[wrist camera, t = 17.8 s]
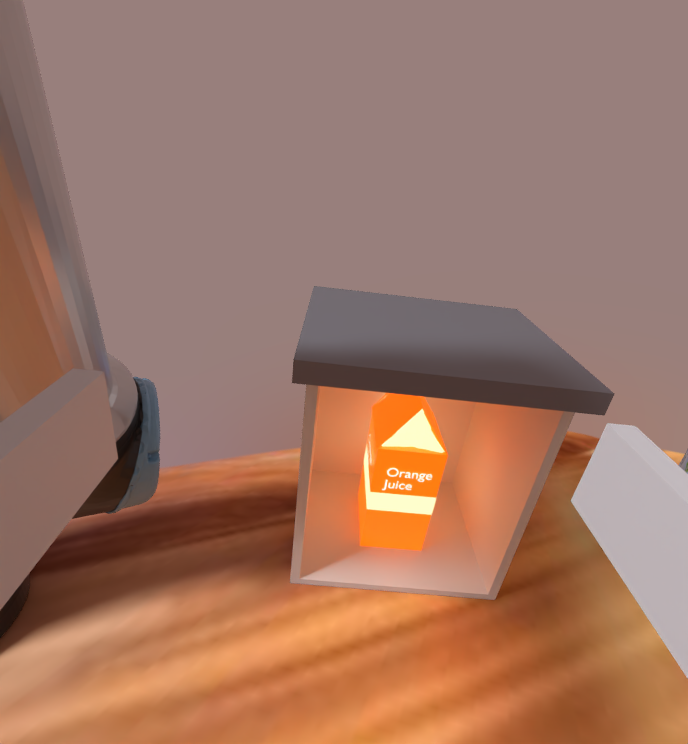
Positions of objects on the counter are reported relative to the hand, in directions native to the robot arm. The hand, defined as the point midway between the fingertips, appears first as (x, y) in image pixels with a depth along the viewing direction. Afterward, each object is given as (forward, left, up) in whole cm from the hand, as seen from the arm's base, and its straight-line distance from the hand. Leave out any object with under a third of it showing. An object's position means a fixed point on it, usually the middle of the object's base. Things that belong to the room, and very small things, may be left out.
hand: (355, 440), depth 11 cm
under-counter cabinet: (+9, +31, -35) cm, 47 cm away
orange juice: (+9, +31, -34) cm, 47 cm away
